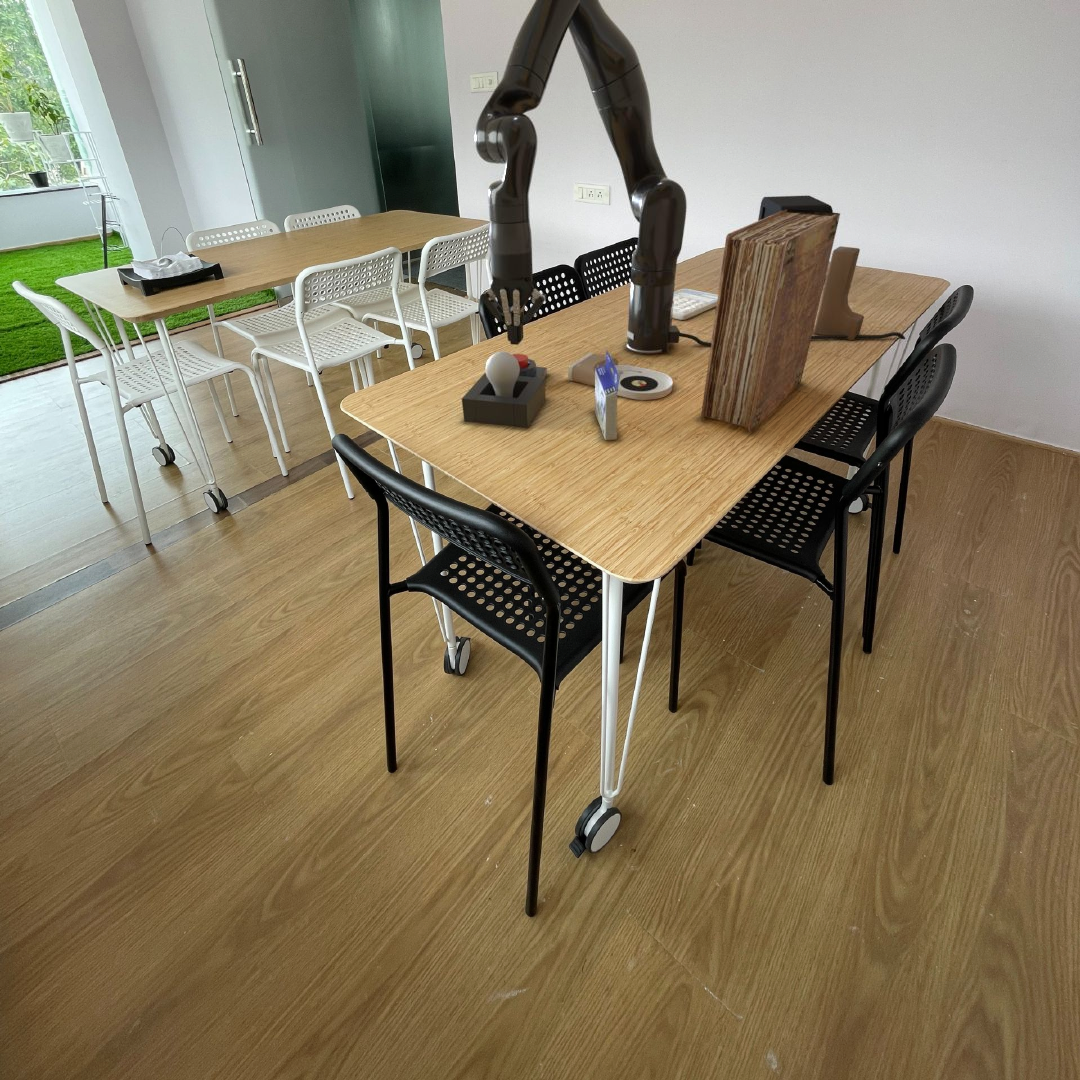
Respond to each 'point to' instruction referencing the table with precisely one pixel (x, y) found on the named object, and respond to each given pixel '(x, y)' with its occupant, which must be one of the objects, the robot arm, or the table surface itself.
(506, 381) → the lightbulb
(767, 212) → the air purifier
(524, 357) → the button
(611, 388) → the ink box
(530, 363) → the switch
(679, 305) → the calculator
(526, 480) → the table surface
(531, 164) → the robot arm
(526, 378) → the socket
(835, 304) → the wooden block
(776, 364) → the book
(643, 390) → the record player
